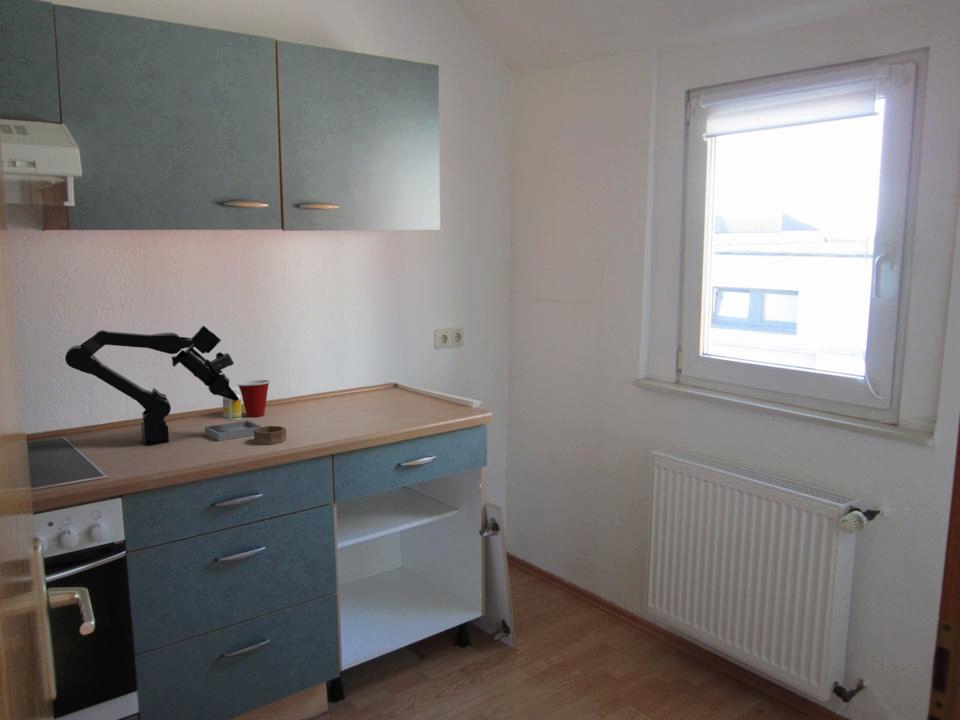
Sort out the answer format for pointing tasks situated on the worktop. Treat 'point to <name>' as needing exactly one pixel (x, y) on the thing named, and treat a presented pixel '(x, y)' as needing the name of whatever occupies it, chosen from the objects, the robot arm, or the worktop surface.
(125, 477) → the worktop surface
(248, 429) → the tray
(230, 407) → the supplement bottle
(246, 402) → the plastic cup
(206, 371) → the robot arm
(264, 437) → the cup holder
